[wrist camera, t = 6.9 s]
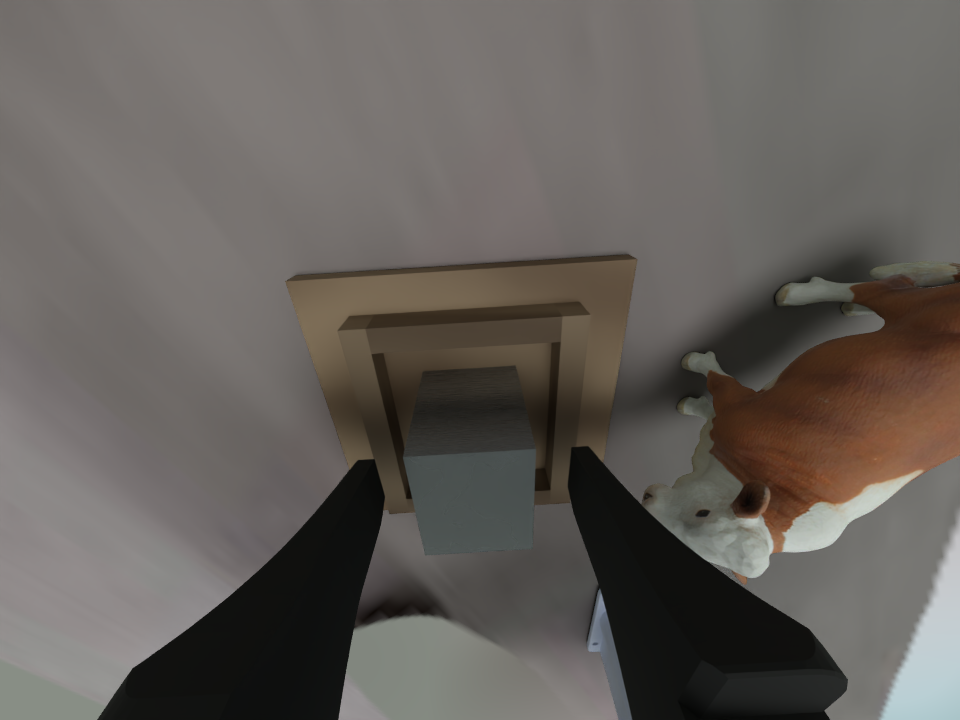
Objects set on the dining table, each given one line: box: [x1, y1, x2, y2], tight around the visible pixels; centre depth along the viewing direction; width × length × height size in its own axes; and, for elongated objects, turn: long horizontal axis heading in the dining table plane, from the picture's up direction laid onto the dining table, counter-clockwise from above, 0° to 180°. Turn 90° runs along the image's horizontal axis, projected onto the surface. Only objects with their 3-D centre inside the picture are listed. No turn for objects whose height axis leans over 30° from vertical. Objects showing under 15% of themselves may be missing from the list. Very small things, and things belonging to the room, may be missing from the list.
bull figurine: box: [642, 261, 960, 585], centre depth 12 cm, size 4×13×8 cm, turn 128°
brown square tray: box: [285, 255, 637, 514], centre depth 15 cm, size 13×13×2 cm
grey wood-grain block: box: [403, 365, 536, 555], centre depth 14 cm, size 5×4×5 cm
